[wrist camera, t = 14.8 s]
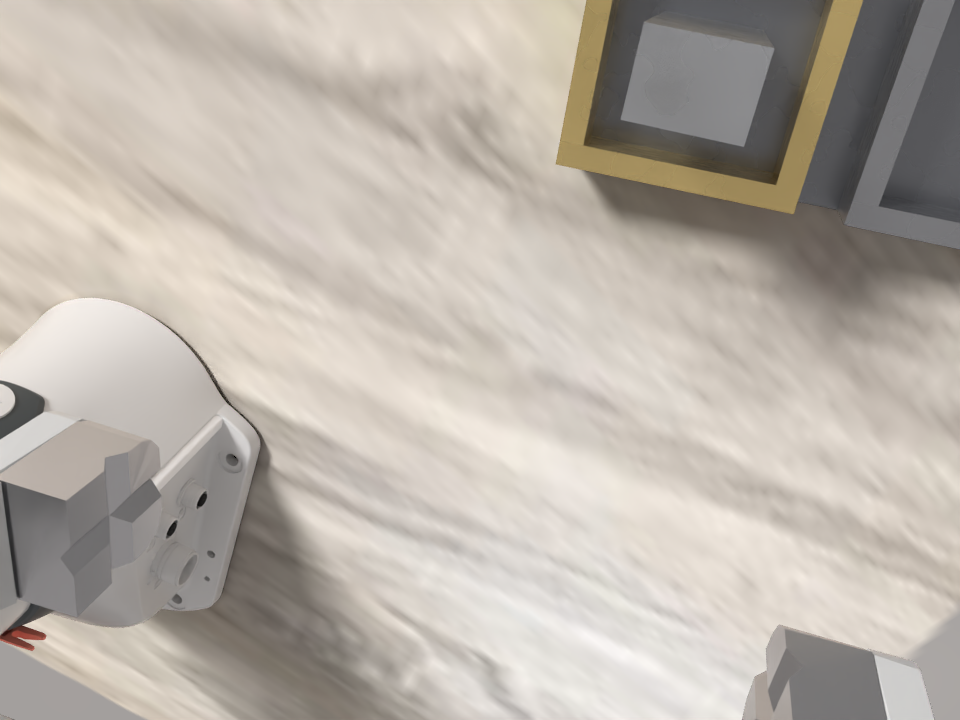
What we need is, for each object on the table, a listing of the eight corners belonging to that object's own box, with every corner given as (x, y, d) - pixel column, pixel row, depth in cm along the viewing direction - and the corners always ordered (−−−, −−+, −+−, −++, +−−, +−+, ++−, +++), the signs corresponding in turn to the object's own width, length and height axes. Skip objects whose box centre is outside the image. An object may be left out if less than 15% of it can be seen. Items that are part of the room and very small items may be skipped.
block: (740, 104, 35) (743, 146, 27) (647, 84, 36) (620, 120, 27) (762, 29, 34) (774, 48, 25) (665, 10, 35) (643, 22, 26)
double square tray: (1079, 255, 35) (1112, 281, 32) (569, 149, 39) (555, 164, 36) (1206, -1, 31) (1258, 1, 28) (616, -93, 35) (605, -99, 31)
